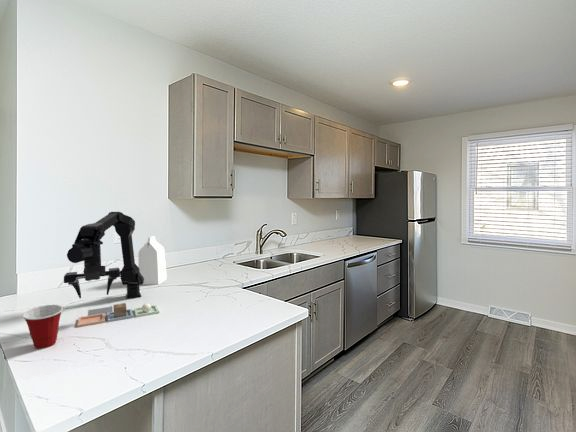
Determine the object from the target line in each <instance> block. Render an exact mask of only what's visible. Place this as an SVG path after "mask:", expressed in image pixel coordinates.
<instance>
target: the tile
mask: <svg viewBox="0 0 576 432" xmlns="http://www.w3.org/2000/svg"><path fill="white" fill-rule="evenodd" d="M87 311H88V312H87V316H90V315H96V314H103V313H105V315H107V313H109V312H114V308H113V306H106V307H100V308H93V309H88V310H87Z"/></svg>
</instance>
